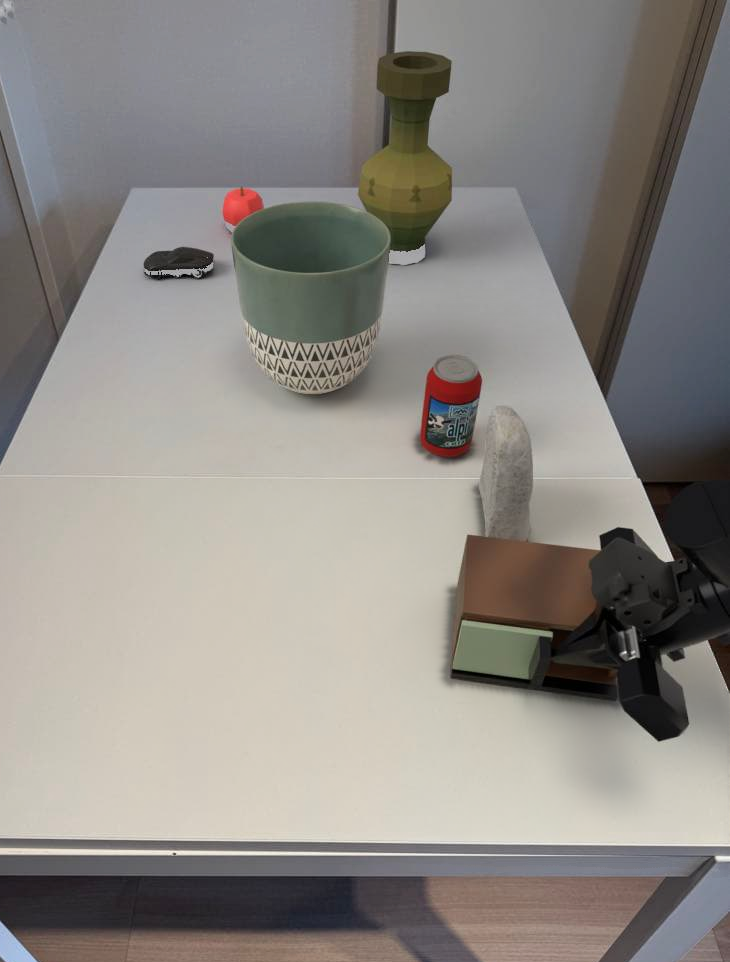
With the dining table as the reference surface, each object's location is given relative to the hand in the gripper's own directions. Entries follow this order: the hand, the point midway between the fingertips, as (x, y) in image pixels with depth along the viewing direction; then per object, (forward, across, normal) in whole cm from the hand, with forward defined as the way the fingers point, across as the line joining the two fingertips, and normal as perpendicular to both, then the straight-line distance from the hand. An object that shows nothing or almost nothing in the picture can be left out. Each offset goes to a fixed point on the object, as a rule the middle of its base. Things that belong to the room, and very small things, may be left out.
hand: (552, 657), depth 69 cm
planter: (+26, -49, -16) cm, 58 cm away
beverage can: (+13, -37, -2) cm, 40 cm away
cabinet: (+5, -8, +5) cm, 10 cm away
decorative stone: (+8, -25, +2) cm, 26 cm away
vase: (+20, -90, -10) cm, 92 cm away
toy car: (+46, -77, -36) cm, 97 cm away
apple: (+41, -94, -31) cm, 107 cm away
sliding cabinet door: (+7, -1, +1) cm, 7 cm away
